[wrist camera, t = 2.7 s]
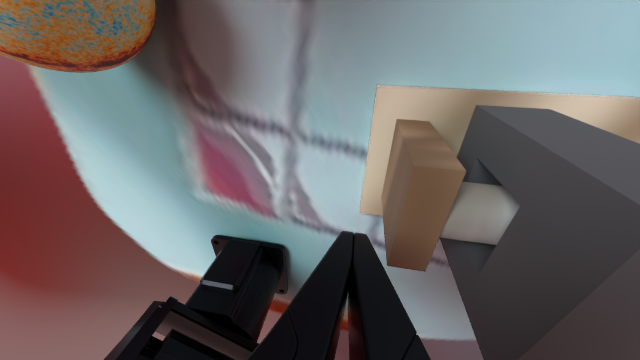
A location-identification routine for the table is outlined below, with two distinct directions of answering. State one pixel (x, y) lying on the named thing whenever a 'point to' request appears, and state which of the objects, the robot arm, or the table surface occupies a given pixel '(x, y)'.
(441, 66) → the table surface
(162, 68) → the table surface
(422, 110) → the pipe stand
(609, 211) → the grey sliding block
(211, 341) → the robot arm
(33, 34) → the ball
